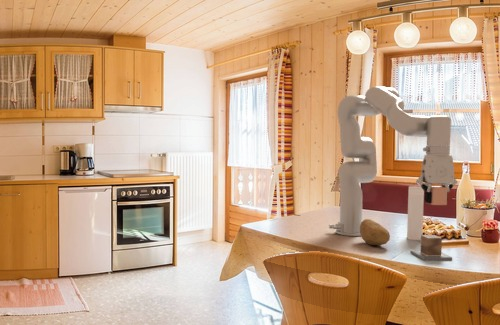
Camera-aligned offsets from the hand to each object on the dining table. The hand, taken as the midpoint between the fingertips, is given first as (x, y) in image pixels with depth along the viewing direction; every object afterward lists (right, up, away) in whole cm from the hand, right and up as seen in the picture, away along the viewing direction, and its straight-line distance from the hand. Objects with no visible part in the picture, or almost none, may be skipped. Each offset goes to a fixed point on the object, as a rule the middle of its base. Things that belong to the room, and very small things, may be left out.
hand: (435, 202), depth 153 cm
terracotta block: (0, -1, 0) cm, 1 cm away
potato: (-17, -18, +17) cm, 30 cm away
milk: (+4, -18, +30) cm, 35 cm away
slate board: (-2, -19, 0) cm, 19 cm away
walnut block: (-2, -18, 0) cm, 18 cm away
